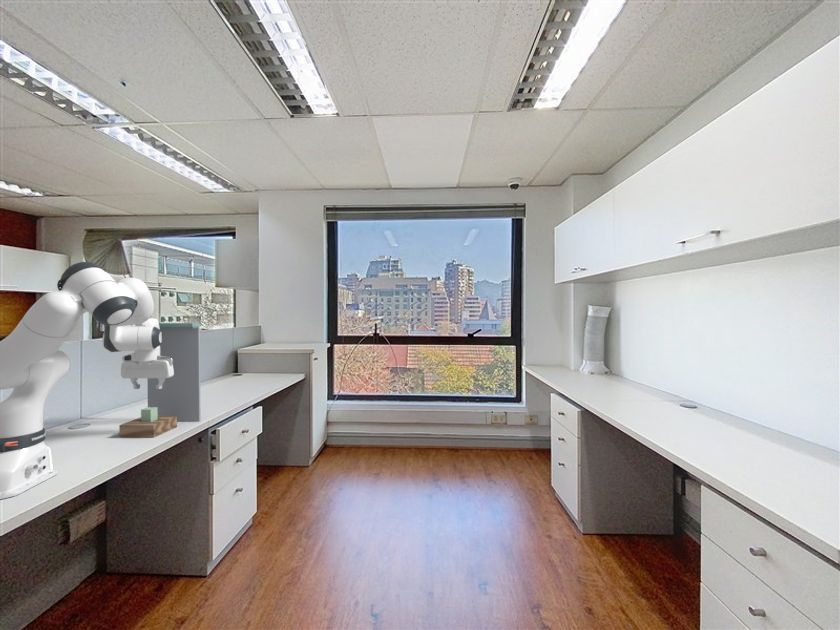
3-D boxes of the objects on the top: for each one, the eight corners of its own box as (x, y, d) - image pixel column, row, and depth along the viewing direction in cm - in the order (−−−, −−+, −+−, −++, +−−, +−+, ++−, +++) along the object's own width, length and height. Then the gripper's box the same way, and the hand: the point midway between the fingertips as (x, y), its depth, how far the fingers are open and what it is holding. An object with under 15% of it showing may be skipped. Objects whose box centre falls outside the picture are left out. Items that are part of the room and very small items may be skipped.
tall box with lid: (193, 424, 168) (192, 323, 168) (140, 424, 168) (139, 323, 168) (200, 420, 173) (199, 322, 173) (149, 420, 174) (148, 323, 173)
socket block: (153, 437, 151) (153, 425, 150) (119, 437, 151) (119, 425, 151) (176, 426, 165) (176, 415, 164) (145, 426, 165) (145, 415, 165)
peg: (150, 433, 156) (150, 409, 156) (141, 433, 156) (141, 409, 156) (157, 430, 160) (157, 407, 160) (148, 430, 160) (148, 407, 160)
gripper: (177, 355, 161) (177, 387, 161) (129, 355, 161) (129, 387, 161) (167, 356, 154) (167, 390, 154) (117, 356, 154) (118, 390, 154)
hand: (147, 388), depth 158 cm, fingers open, 8 cm apart
